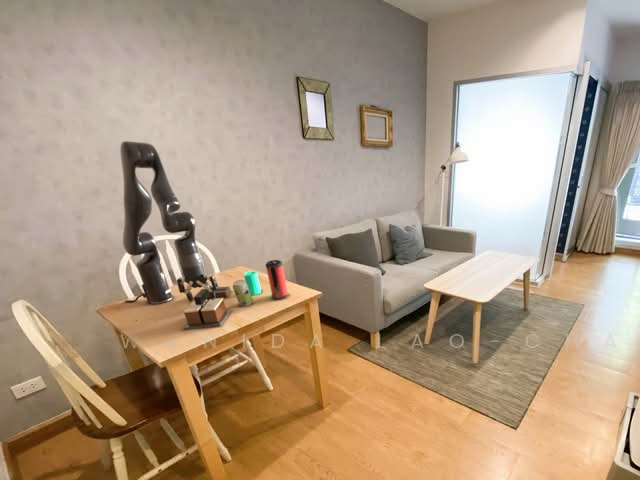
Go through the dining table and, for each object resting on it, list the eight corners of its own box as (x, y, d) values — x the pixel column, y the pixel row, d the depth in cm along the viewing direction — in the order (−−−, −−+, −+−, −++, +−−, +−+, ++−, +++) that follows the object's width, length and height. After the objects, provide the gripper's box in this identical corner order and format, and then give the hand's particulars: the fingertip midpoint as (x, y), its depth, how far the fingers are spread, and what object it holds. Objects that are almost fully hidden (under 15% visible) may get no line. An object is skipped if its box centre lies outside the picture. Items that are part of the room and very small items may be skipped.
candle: (248, 291, 170) (242, 269, 165) (260, 289, 172) (255, 267, 167) (248, 295, 165) (243, 273, 160) (261, 293, 167) (256, 271, 162)
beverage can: (255, 300, 159) (249, 277, 154) (249, 307, 153) (243, 283, 148) (242, 301, 159) (236, 278, 154) (235, 308, 153) (229, 284, 148)
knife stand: (203, 299, 162) (201, 294, 161) (208, 293, 169) (207, 288, 168) (226, 297, 164) (225, 292, 162) (231, 291, 170) (229, 286, 169)
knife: (209, 313, 146) (201, 288, 141) (215, 313, 147) (207, 288, 142) (201, 323, 138) (193, 297, 133) (207, 322, 139) (199, 296, 134)
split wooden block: (184, 329, 136) (179, 313, 132) (197, 313, 148) (193, 299, 145) (220, 326, 138) (216, 310, 134) (230, 311, 150) (226, 296, 147)
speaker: (290, 297, 163) (284, 262, 155) (274, 301, 159) (267, 265, 151) (285, 292, 168) (279, 258, 161) (270, 295, 164) (263, 261, 157)
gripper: (213, 259, 136) (223, 295, 143) (176, 261, 134) (188, 297, 141) (206, 265, 129) (217, 302, 136) (167, 268, 128) (180, 305, 134)
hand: (202, 300), depth 139 cm, fingers open, 8 cm apart
